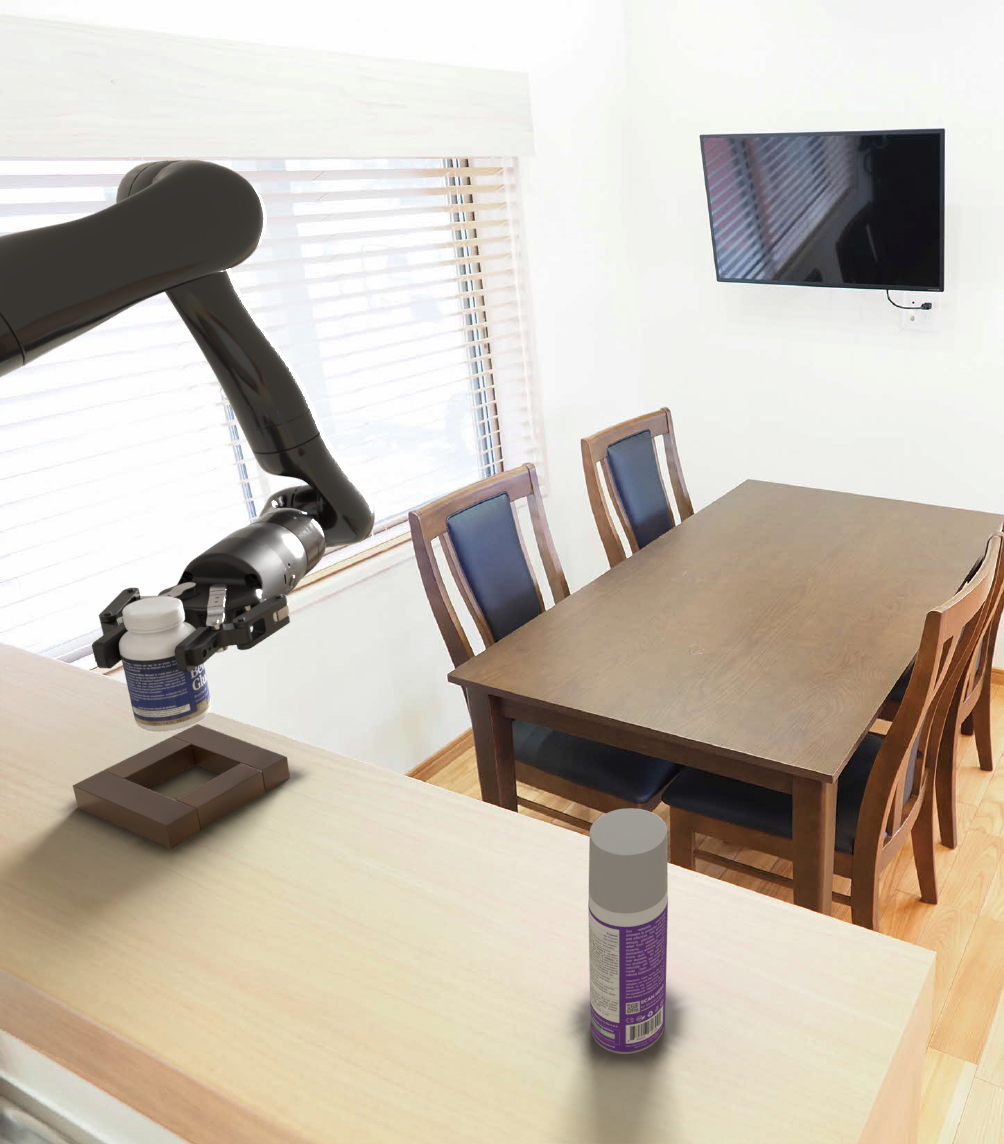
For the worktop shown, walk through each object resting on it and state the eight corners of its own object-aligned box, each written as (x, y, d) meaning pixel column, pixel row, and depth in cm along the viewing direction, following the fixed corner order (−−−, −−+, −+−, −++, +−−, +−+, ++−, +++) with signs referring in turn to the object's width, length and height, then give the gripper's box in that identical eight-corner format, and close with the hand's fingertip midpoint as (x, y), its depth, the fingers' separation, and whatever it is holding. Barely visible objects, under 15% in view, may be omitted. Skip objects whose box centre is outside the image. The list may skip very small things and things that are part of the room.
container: (667, 999, 63) (671, 807, 58) (662, 1059, 59) (666, 858, 54) (595, 998, 63) (593, 805, 58) (585, 1058, 59) (581, 856, 53)
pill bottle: (214, 724, 77) (194, 613, 74) (136, 740, 75) (110, 626, 71) (210, 693, 82) (190, 587, 78) (135, 708, 79) (111, 599, 75)
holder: (172, 852, 74) (166, 825, 73) (78, 811, 78) (72, 785, 77) (290, 781, 84) (287, 756, 83) (201, 747, 88) (197, 723, 87)
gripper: (160, 532, 87) (32, 610, 72) (321, 539, 88) (229, 618, 72) (175, 607, 90) (55, 699, 75) (331, 614, 91) (244, 706, 75)
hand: (141, 659), depth 73 cm, fingers closed on pill bottle, 5 cm apart
